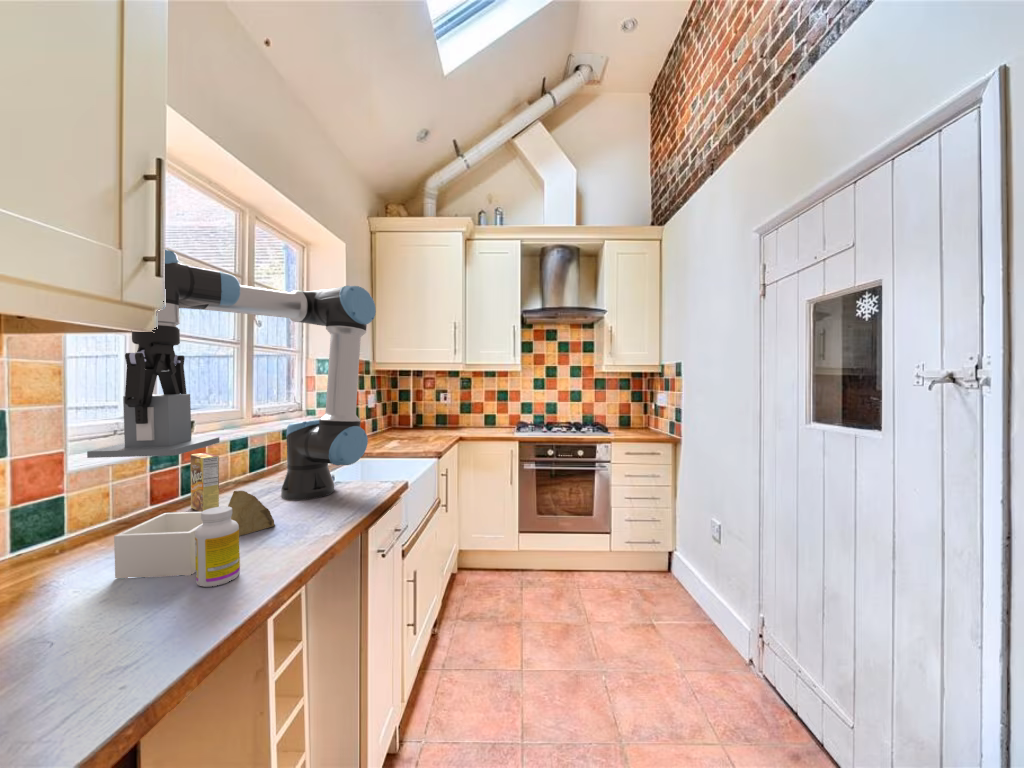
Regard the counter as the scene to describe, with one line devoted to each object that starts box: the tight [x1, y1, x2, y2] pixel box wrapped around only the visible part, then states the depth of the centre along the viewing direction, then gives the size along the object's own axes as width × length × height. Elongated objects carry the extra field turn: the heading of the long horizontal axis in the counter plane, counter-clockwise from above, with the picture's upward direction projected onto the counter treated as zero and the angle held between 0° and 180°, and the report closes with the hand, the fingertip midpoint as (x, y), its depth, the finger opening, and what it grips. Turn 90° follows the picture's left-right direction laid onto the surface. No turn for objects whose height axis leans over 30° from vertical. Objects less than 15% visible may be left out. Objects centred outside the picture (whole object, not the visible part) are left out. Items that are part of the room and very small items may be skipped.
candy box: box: [190, 452, 220, 512], centre depth 118 cm, size 9×4×15 cm, turn 55°
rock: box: [228, 490, 276, 537], centre depth 101 cm, size 11×9×10 cm
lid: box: [86, 393, 220, 459], centre depth 87 cm, size 15×15×11 cm
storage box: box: [113, 511, 203, 579], centre depth 85 cm, size 13×13×8 cm
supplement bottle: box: [195, 506, 241, 588], centre depth 77 cm, size 7×7×13 cm
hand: (159, 437), depth 87 cm, fingers closed on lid, 7 cm apart
